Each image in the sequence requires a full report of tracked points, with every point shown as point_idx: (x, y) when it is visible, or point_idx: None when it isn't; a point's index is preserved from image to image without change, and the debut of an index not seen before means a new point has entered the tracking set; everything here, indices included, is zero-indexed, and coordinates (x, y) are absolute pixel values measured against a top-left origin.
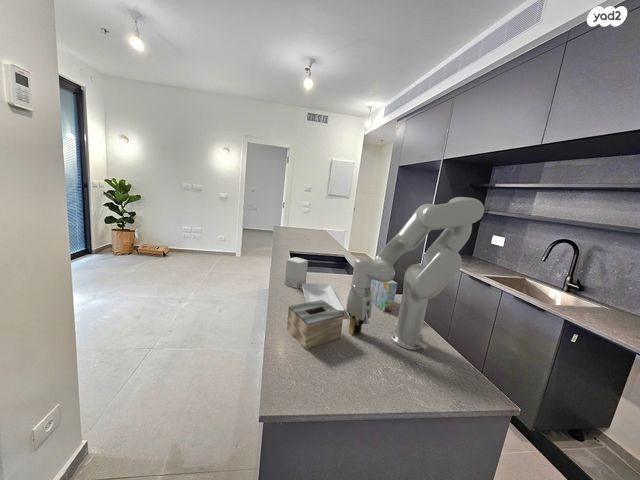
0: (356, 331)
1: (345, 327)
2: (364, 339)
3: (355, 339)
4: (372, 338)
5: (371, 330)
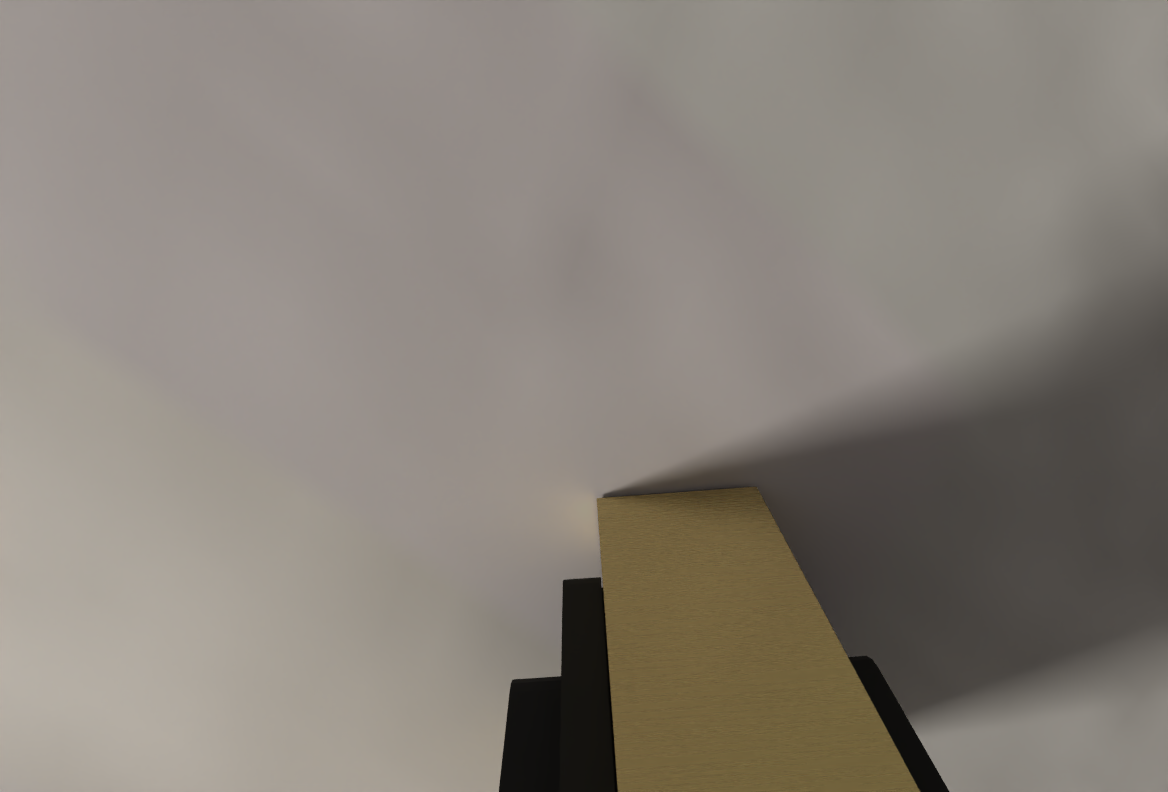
0: None
1: (366, 713)
2: (1038, 600)
3: None
4: (1139, 366)
5: (809, 50)
